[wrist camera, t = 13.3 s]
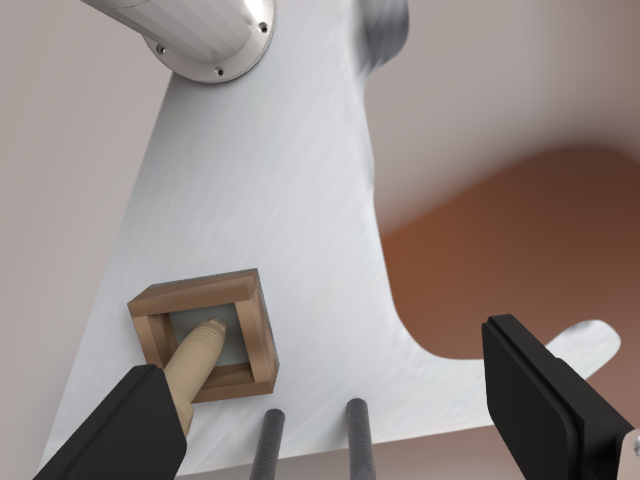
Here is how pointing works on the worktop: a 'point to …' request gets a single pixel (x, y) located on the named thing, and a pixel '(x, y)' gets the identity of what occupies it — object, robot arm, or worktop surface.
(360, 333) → the worktop surface
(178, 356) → the handle
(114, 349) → the worktop surface
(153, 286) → the socket
